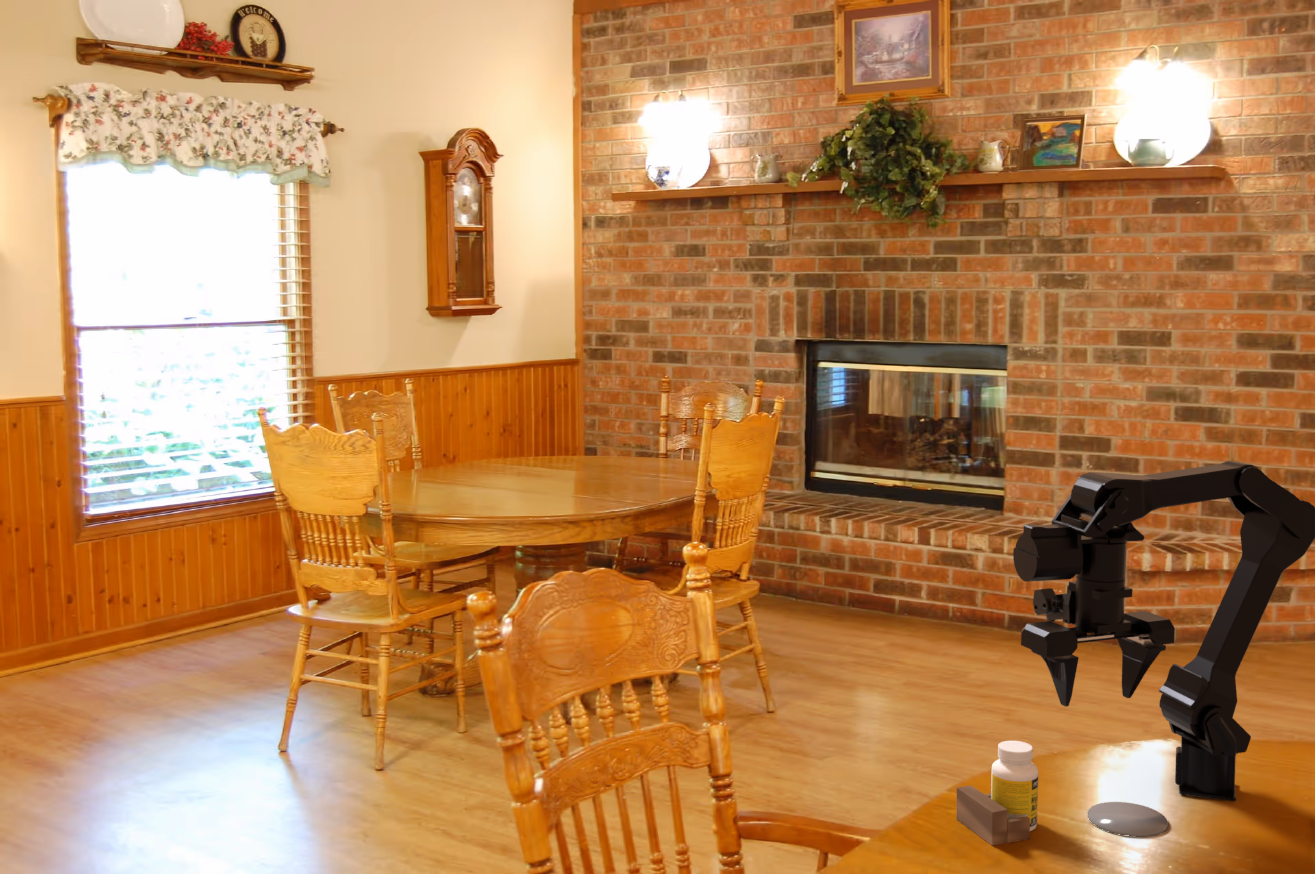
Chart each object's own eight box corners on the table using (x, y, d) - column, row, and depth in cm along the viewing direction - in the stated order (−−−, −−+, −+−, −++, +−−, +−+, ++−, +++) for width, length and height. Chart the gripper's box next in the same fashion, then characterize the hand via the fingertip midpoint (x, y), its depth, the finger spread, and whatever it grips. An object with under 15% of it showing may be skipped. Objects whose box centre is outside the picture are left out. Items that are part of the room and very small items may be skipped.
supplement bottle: (1039, 836, 145) (1040, 755, 144) (991, 832, 146) (992, 753, 145) (1035, 816, 151) (1036, 739, 149) (989, 813, 152) (990, 736, 150)
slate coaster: (1167, 810, 151) (1168, 807, 151) (1167, 841, 143) (1167, 838, 143) (1090, 800, 155) (1090, 797, 155) (1084, 830, 146) (1085, 827, 146)
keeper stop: (991, 812, 152) (991, 781, 151) (1029, 838, 145) (1029, 806, 144) (956, 818, 150) (956, 787, 150) (992, 845, 143) (992, 812, 143)
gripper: (1118, 558, 161) (1114, 674, 163) (996, 569, 155) (992, 690, 157) (1180, 576, 151) (1175, 700, 153) (1051, 589, 145) (1047, 718, 146)
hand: (1095, 701), depth 152 cm, fingers open, 9 cm apart
